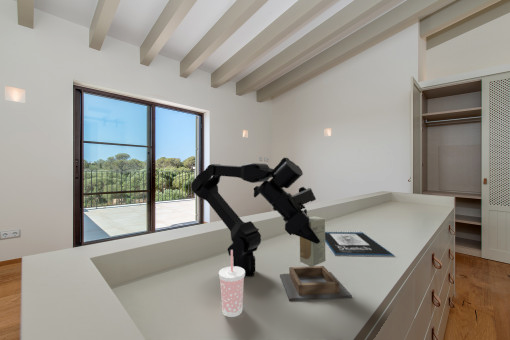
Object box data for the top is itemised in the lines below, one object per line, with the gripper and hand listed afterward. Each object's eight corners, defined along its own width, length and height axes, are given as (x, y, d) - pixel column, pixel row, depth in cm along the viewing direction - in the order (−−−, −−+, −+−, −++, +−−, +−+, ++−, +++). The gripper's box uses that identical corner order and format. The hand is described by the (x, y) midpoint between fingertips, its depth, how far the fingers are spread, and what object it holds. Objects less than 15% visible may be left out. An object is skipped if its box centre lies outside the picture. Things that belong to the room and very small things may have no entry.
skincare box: (313, 256, 66) (313, 215, 66) (326, 261, 63) (326, 218, 63) (298, 262, 62) (298, 218, 63) (311, 267, 59) (310, 221, 59)
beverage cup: (220, 303, 55) (219, 245, 55) (245, 302, 55) (244, 245, 55) (217, 319, 48) (216, 255, 49) (245, 318, 49) (245, 254, 49)
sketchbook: (334, 257, 84) (334, 252, 84) (318, 234, 114) (317, 230, 114) (394, 258, 82) (394, 252, 82) (361, 234, 112) (361, 230, 112)
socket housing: (289, 300, 55) (289, 288, 55) (279, 276, 68) (279, 265, 68) (351, 297, 56) (351, 285, 56) (330, 273, 69) (330, 263, 69)
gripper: (298, 179, 54) (346, 227, 52) (297, 177, 72) (333, 212, 71) (266, 211, 55) (312, 258, 54) (273, 200, 74) (307, 235, 72)
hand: (317, 238), depth 62 cm, fingers closed on skincare box, 7 cm apart
